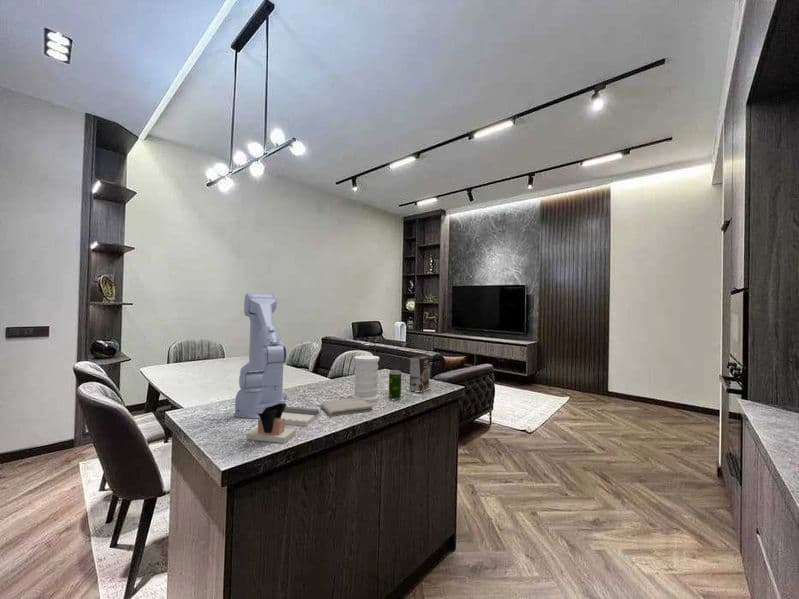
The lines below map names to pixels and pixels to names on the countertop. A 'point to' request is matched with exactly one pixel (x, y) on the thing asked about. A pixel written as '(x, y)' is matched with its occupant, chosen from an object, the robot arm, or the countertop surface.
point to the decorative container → (366, 378)
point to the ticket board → (299, 415)
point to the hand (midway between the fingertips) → (271, 430)
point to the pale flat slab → (277, 432)
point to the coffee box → (419, 373)
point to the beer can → (395, 384)
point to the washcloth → (345, 406)
